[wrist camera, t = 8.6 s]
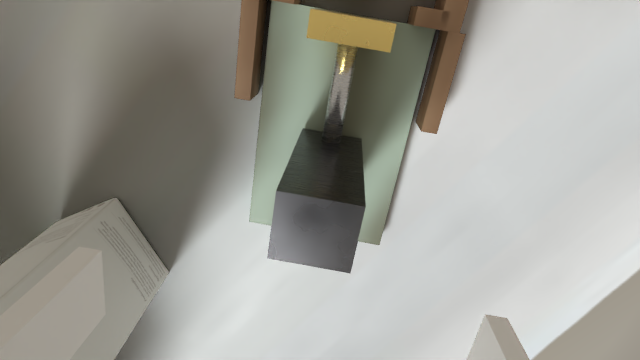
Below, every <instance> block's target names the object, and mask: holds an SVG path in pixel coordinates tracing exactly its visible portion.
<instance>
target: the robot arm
mask: <svg viewBox="0 0 640 360" xmlns="http://www.w3.org/2000/svg"><path fill="white" fill-rule="evenodd" d="M105 314H106V312H105V296H104V279H103V263H102V250H97V249H91V248H85V247H78V248H77V249H76V250H75V251H73V252H72V253H71V254H70V255H69V256H68V257H67V258H65V259H64V260H63V261H62V262H61V263H60V264H59V265H57V266H56V267H55V268H54V269H53V270H52V271H51V272H50V273H48V274H47V275H46V276H45V277H44V278H43V279H42V280H40V281H39V282H38V283H37V284H36V285H35V286H34V287H32V288H31V289H30V290H29V291H28V292H27V293H26V294H25V295H23V296H22V297H21V298H20V299H19V300H18V301H17V302H15V303H14V304H13V305H12V306H11V307H10V308H9V309H7V310H6V311H5V312H4V313H3V314H2V315H1V316H0V360H70V359H71V357H72V356H73V355H74V354H75V352H76V351H77V350H78V348H79V347H80V346H81V345H82V343H83V342H84V341H85V340H86V338H87V337H88V336H89V335H90V333H91V332H92V331H93V330H94V328H95V327H96V326H97V325H98V323H99V322H100V321H101V319H102V318H103V317H104V316H105ZM467 360H529V358H528V356H527V354H526V352H525V350H524V349H523V347H522V345H521V343H520V341H519V339H518V337H517V335H516V334H515V332H514V330H513V328H512V326H511V324H510V322H509V321H508V319H507V318H503V317H497V316H491V315H485V316H484V318H483V321H482V323H481V326H480V328H479V331H478V333H477V336H476V338H475V340H474V343H473V345H472V348H471V350H470V353H469V355H468V357H467Z"/></svg>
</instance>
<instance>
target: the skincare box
mask: <svg viewBox="0 0 640 360" xmlns="http://www.w3.org/2000/svg"><path fill="white" fill-rule="evenodd" d="M78 247H85V248H91V249H97V250H102V263H103V279H104V296H105V312H106V314H105V316H104V317H103V318H102V319H101V321H100V322H99V323H98V325H97V326H96V327H95V328H94V330H93V331H92V332H91V333H90V335H89V336H88V337H87V338H86V340H85V341H84V342H83V343H82V345H81V346H80V347H79V348H78V350H77V351H76V352H75V354H74V355H73V356H72V357H71V359H70V360H114V359H115V358H116V356H117V355H118V353H119V351H120V350H121V348H122V347H123V345H124V343H125V342H126V340H127V339H128V337H129V336H130V334H131V332H132V331H133V329H134V328H135V326H136V325H137V323H138V321H139V320H140V318H141V317H142V315H143V313H144V312H145V310H146V309H147V307H148V305H149V304H150V302H151V301H152V299H153V298H154V296H155V295H156V293H157V291H158V290H159V288H160V287H161V285H162V283H163V282H164V280H165V279H166V277H167V275H168V274H169V271H168V270H167V268H166V267H165V266H164V264H163V263H162V261H161V260H160V259H159V257H158V256H157V254H156V253H155V251H154V250H153V249H152V247H151V246H150V244H149V243H148V242H147V240H146V239H145V237H144V236H143V234H142V233H141V232H140V230H139V229H138V227H137V226H136V224H135V223H134V221H133V220H132V219H131V217H130V216H129V214H128V213H127V212H126V210H125V209H124V207H123V206H122V204H121V203H120V202H119V200H118V199H117V198H112V199H110V200H107V201H105V202H102V203H100V204H97V205H95V206H92V207H90V208H88V209H85V210H83V211H80V212H78V213H76V214H73V215H71V216H68V217H66V218H64V219H62V220H59V221H57V222H55V223H54V224H53V225H52V226H50V227H49V228H48V229H46V230H45V231H44V232H43V233H41V234H40V235H39V236H37V237H36V238H35V239H34V240H32V241H31V242H30V243H28V244H27V245H26V246H25V247H23V248H22V249H21V250H19V251H18V252H17V253H16V254H14V255H13V256H12V257H10V258H9V259H8V260H6V261H5V262H4V263H3V264H1V265H0V316H1V315H2V314H3V313H4V312H5V311H6V310H7V309H9V308H10V307H11V306H12V305H13V304H14V303H15V302H17V301H18V300H19V299H20V298H21V297H22V296H23V295H25V294H26V293H27V292H28V291H29V290H30V289H31V288H32V287H34V286H35V285H36V284H37V283H38V282H39V281H40V280H42V279H43V278H44V277H45V276H46V275H47V274H48V273H50V272H51V271H52V270H53V269H54V268H55V267H56V266H57V265H59V264H60V263H61V262H62V261H63V260H64V259H65V258H67V257H68V256H69V255H70V254H71V253H72V252H73V251H75V250H76V249H77V248H78Z"/></svg>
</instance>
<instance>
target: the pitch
mask: <svg viewBox="0 0 640 360" xmlns="http://www.w3.org/2000/svg"><path fill="white" fill-rule="evenodd" d="M468 2H469V0H436V2H435V6H434V9H432V8H426V7H421V6H411V9H410V13H409V17H408V21H407V23H402V22H396V21H390V20H385V19H379V18H373V17H368V16H362V15H356V14H351V13H345V12H339V11H334V10H328V9H322V8H317V7H311V6H305V5H300V3H301V0H272V2H271V11H270V21H269V31H268V41H267V51H266V61H265V70H264V80H263V90H262V100H261V110H260V120H259V129H258V139H257V149H256V159H255V169H254V179H253V188H252V198H251V208H250V218H249V222H254V223H259V224H265V225H270V226H272V219H273V211H274V203H275V195H276V190H277V187H278V185H279V183H280V180H281V178H282V176H283V173H284V171H285V169H286V166H287V164H288V162H289V159H290V157H291V154H292V152H293V150H294V147H295V145H296V143H297V140H298V138H299V136H300V133H301V131H302V129H303V128H305V129H311V130H317V131H322V132H323V128H324V122H325V116H326V110H327V104H328V98H329V93H330V87H331V81H332V75H333V69H334V63H335V57H336V51H337V45H338V43H333V42H327V41H321V40H316V39H310V38H306V36H307V29H308V22H309V15H310V9H322V10H328V11H334V12H339V13H345V14H351V15H356V16H362V17H368V18H373V19H379V20H385V21H390V22H393V23H395V24H397V25H396V29H395V34H394V38H393V43H392V47H391V52H390V53H389V52H384V51H378V50H372V49H367V48H361V47H358V52H357V57H356V62H355V67H354V73H353V78H352V83H351V88H350V94H349V99H348V104H347V109H346V115H345V120H344V125H343V130H342V135H345V136H350V137H356V138H361V139H362V152H363V169H364V185H365V202H366V208H365V212H364V217H363V221H362V225H361V229H360V234H359V238H358V241H359V242H365V243H370V244H376V245H379V244H380V241H381V237H382V233H383V229H384V225H385V221H386V218H387V214H388V210H389V206H390V202H391V198H392V195H393V191H394V187H395V183H396V179H397V175H398V172H399V168H400V164H401V160H402V156H403V153H404V149H405V145H406V141H407V137H408V133H409V130H410V126H411V122H412V118H413V114H414V110H415V107H416V103H417V99H418V95H419V91H420V87H421V84H422V80H423V76H424V72H425V68H426V64H427V61H428V57H429V53H430V49H431V45H432V41H433V38H434V34H435V30H436V29H437V30H440V31H439V35H438V39H437V43H436V47H435V50H434V54H433V58H432V62H431V65H430V69H429V73H428V77H427V80H426V84H425V88H424V92H423V96H422V99H421V103H420V107H419V111H418V114H417V118H416V123H417V125H418V126H419V128H420V130H421V131H423V132H429V133H434V134H437V131H438V128H439V124H440V121H441V117H442V114H443V110H444V107H445V104H446V100H447V97H448V93H449V90H450V86H451V83H452V80H453V76H454V73H455V69H456V66H457V62H458V59H459V55H460V52H461V49H462V45H463V42H464V38H465V35H466V34H462V33H460V30H461V27H462V23H463V20H464V16H465V13H466V9H467V6H468ZM266 9H267V0H242V2H241V16H240V29H239V43H238V56H237V70H236V83H235V97H234V98H238V99H243V100H249V101H250V100H251V99H252V98H253V97H255V96H256V95H257V94H258V90H259V80H260V70H261V60H262V49H263V39H264V29H265V19H266Z"/></svg>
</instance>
